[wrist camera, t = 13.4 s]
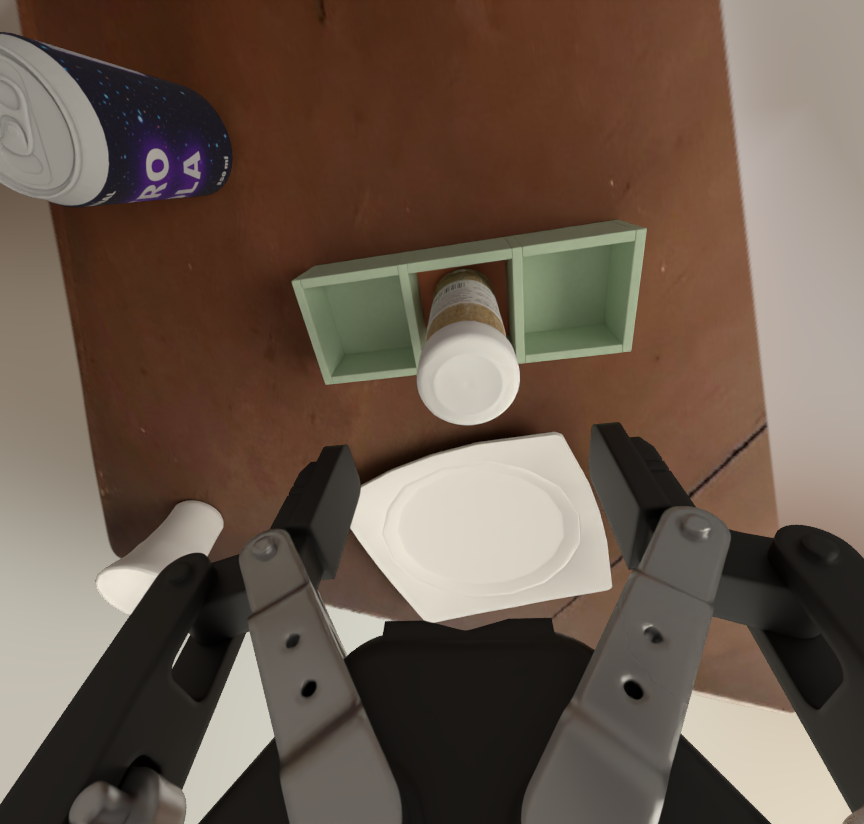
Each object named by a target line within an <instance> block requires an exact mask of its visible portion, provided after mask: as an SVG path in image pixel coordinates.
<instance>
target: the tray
mask: <svg viewBox="0 0 864 824" xmlns="http://www.w3.org/2000/svg"><path fill="white" fill-rule="evenodd" d="M646 231H647V229H646V228H644V227H641V226H637V225H634V224H631V223H627V222H624V221H621V220H612V221H605V222H599V223H592V224H586V225H579V226H573V227H566V228H560V229H553V230H547V231H540V232H533V233H527V234H520V235H514V236H507V237H501V238H494V239H488V240H481V241H474V242H468V243H461V244H455V245H448V246H442V247H435V248H429V249H422V250H415V251H409V252H402V253H396V254H389V255H383V256H376V257H370V258H363V259H357V260H350V261H343V262H337V263H330V264H324V265H317V266H314V267H312V268H311V269H309V270H307V271H306V272H304V273H303V274H301V275H300V276H298V277H297V278H295V279H294V280H292V281H291V283H292V286H293V289H294V292H295V295H296V298H297V301H298V304H299V307H300V310H301V313H302V316H303V319H304V322H305V325H306V328H307V331H308V334H309V337H310V340H311V343H312V346H313V349H314V352H315V355H316V358H317V361H318V364H319V367H320V370H321V373H322V376H323V379H324V382H325V384H326V385H327V384H337V383H346V382H355V381H364V380H373V379H383V378H392V377H401V376H410V375H417V371H418V364H419V359H420V355H421V352H422V350H423V347H424V345H425V344H426V333H427V327H428V322H429V317H430V312H431V308H432V304H433V294H434V291H435V289H436V286H437V284H438V283H439V281H440V280H441V279H442V278H443V277H444V276H445V275H446V274H448V273H450V272H451V271H454V270H457V269H460V268H467V269H474V270H477V271H479V272H480V273H482V274H484V275H485V276H486V277H487V278H488V279H489V280H490V282H491V284H492V286H493V289H494V292H495V299H496V301H497V304H498V308H499V312H500V315H501V319H502V322H503V325H504V329H505V333H506V338H507V339H508V340H509V342H510V343H511V345H512V347H513V349H514V352H515V355H516V359H517V362H518V364H520V363H530V362H539V361H548V360H557V359H566V358H575V357H585V356H594V355H603V354H612V353H621V352H629V351H631V348H632V340H633V332H634V324H635V317H636V309H637V301H638V293H639V285H640V278H641V270H642V262H643V254H644V247H645V239H646Z"/></svg>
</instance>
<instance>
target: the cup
mask: <svg viewBox="0 0 864 824" xmlns="http://www.w3.org/2000/svg"><path fill="white" fill-rule="evenodd" d="M222 529H223V518H222V516H221V514H220V513H219V512H218V511H217V510H216V509H215V508H214V507H212V506H210V505H209V504H206V503H204V502H201V501H195V500H190V501H183V502H181V503H179V504H177V505H176V506H175V507H174V509H173V510H172V512H171V513H170V515H169V516H168V517H167V518H166V520H165V521H164V522H163V523H162V524H161V525H160V526H159V527H158V528H157V529H156V530H155V531H154V532H153V533H152V534H151V535H150V536H149V537H148V538H147V539H146V540H145V541H143V542H142V543H140V544H139V545H138V546H137V547H136V548H135V549H134V550H133V551H131V552H130V553H129V554H128V555H127V556H125V557H123V558H121V559H120V560H118V561H116V562H115V563H113V564H111V565H110V566H108V567H106V568H105V569H104V570H102V571H101V572H100V573H99V574H98V575H97V577H96V580H95V583H96V587H97V589H98V591H99V593H100V595H101V596H102V597H103V598H104V599H105V600H106V601H107V602H108V603H109V604H111V605H112V606H114V607H115V608H116V609H118V610H120V611H121V612H124V613H126V614H128V615H131V614H132V612H133V611H134V609H135V608H136V606H137V605H138V603H139V602H140V600H141V599H142V598H143V596H144V595H145V593H146V592H147V590H148V589H149V587H150V586H151V584H152V583H153V582H154V580H155V579H156V577H157V576H158V575H159V573H160V572H161V571H162V570H163V569H164V568H165V567H166V566H167V565H169V564H170V563H171V562H173V561H175V560H176V559H178V558H180V557H182V556H184V555H187V554H190V553H203V554H205V555H206V556H208V554H209V552H210V550H211V548H212V546H213V544H214V543H215V541H216V539H217V537H218V535H219V534H220V532H221V531H222Z"/></svg>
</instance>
